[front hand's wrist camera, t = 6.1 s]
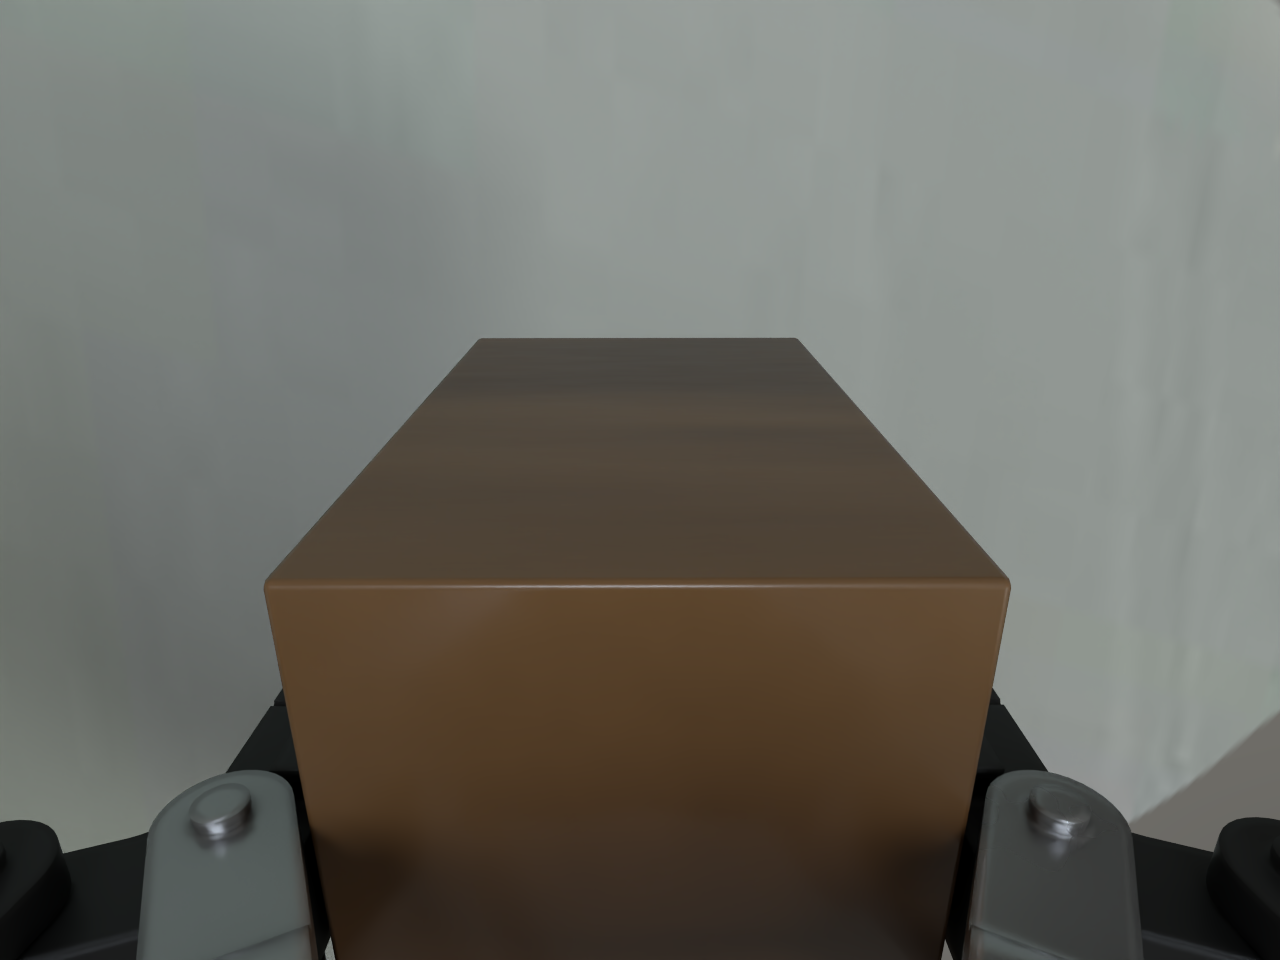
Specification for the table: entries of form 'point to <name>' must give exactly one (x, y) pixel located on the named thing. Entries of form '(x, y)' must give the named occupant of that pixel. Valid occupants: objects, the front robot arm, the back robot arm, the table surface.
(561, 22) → the table surface
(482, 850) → the box
